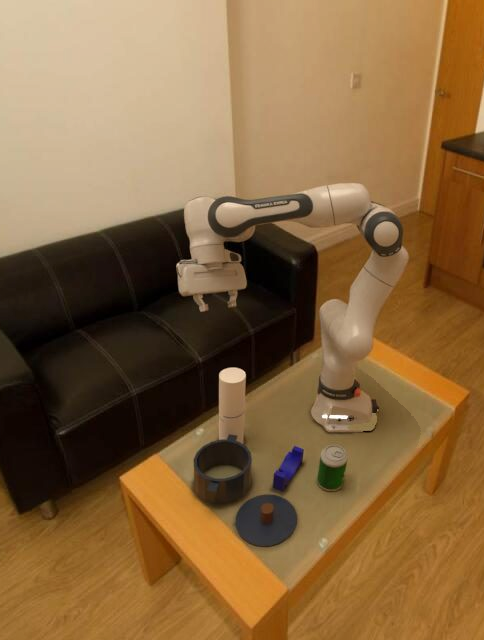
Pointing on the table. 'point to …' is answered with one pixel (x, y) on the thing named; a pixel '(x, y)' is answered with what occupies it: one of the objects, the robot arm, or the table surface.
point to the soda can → (332, 468)
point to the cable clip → (288, 468)
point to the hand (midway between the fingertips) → (218, 309)
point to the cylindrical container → (232, 403)
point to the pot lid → (266, 520)
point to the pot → (222, 455)
